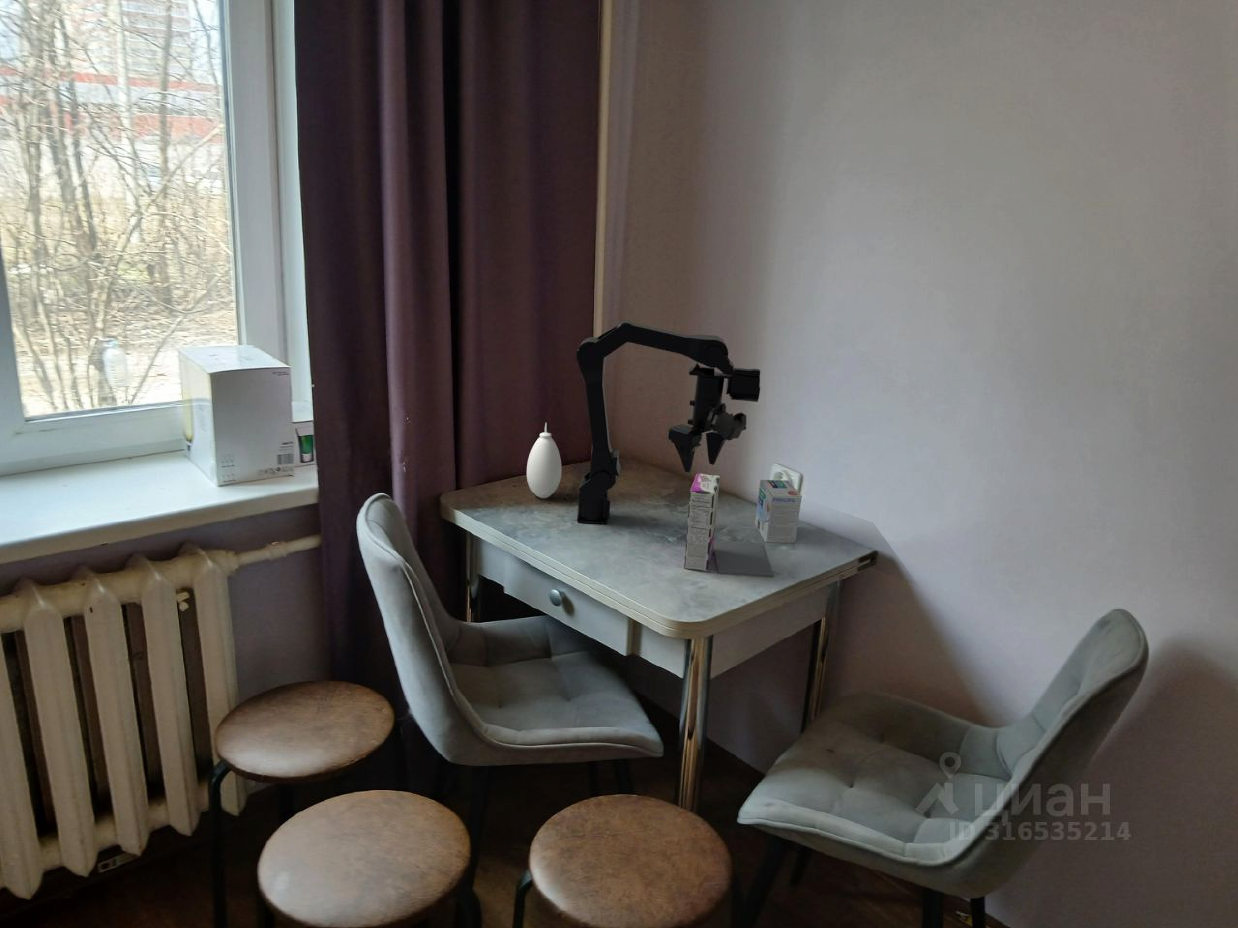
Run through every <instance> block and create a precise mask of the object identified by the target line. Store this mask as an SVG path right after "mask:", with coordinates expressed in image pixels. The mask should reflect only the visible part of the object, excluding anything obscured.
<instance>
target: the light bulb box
mask: <svg viewBox="0 0 1238 928" xmlns="http://www.w3.org/2000/svg"><path fill="white" fill-rule="evenodd" d="M758 491H759V492H758V497H757V498H758V499H757V504H756V505H757V507H756V515H755V520H754V524H755V527H756V528H757V530H758V532H759V533H760V535H761V536H762V538H763V540H764V542H765V543H773V544H774V543H775V544H778V543H781V544H796V539H797V532H798V527H799V526H798V525H799V518H800V511H801V510H800V509H801V503H802V498H803V497H802V495H801V493H800V492H799V491H798V490H797V489H796V488H795V485H793V484H792V482H790V480H788V479H787V480H785V479H784V480H782V479H774V480H773V479H760V480H759V490H758Z"/></svg>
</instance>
